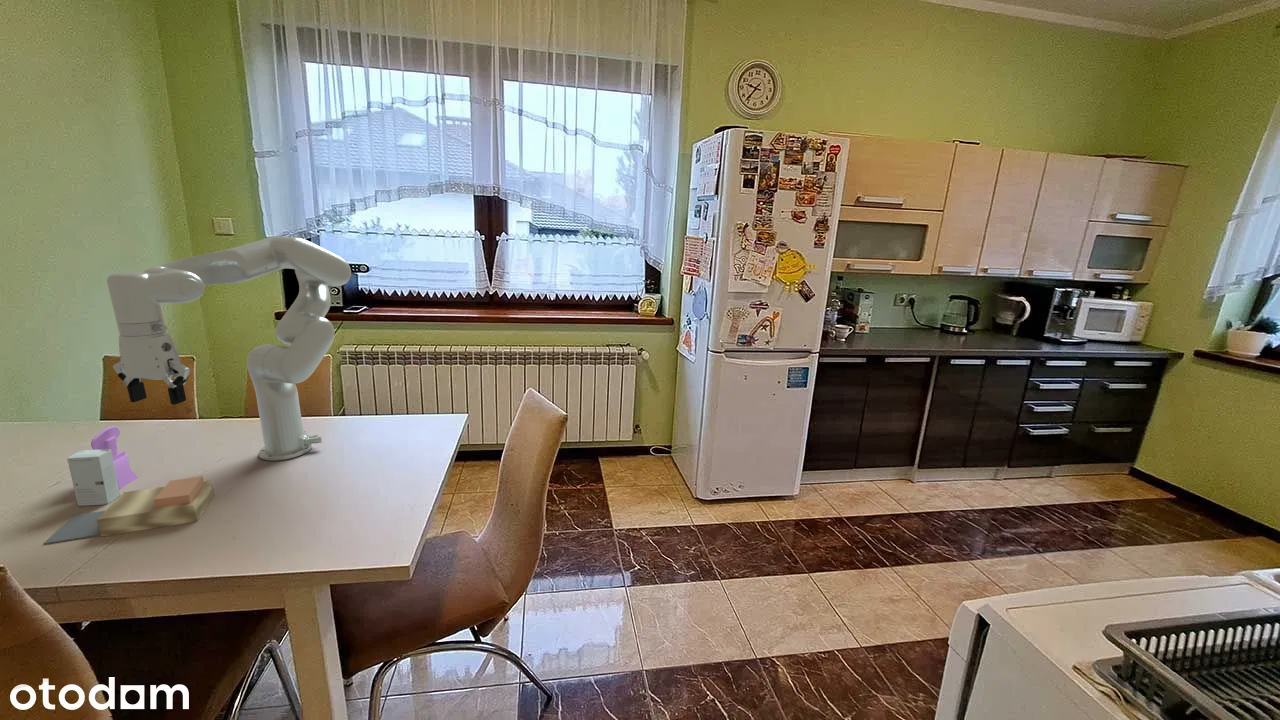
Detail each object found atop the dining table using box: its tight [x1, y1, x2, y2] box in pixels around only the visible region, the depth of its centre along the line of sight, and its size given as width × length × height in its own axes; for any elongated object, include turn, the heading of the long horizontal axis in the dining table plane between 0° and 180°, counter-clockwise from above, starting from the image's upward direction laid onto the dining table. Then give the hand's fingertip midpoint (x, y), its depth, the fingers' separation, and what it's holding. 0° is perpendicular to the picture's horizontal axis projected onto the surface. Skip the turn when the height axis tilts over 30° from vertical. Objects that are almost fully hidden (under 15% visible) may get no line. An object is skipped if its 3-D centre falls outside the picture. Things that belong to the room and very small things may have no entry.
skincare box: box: [66, 449, 121, 507], centre depth 119 cm, size 6×4×12 cm
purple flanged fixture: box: [90, 425, 139, 490], centre depth 126 cm, size 8×9×15 cm
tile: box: [154, 476, 204, 508], centre depth 117 cm, size 6×9×2 cm, turn 24°
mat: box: [43, 510, 106, 545], centre depth 111 cm, size 9×11×1 cm
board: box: [97, 480, 215, 537], centre depth 116 cm, size 16×12×4 cm
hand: (158, 401), depth 119 cm, fingers open, 9 cm apart
